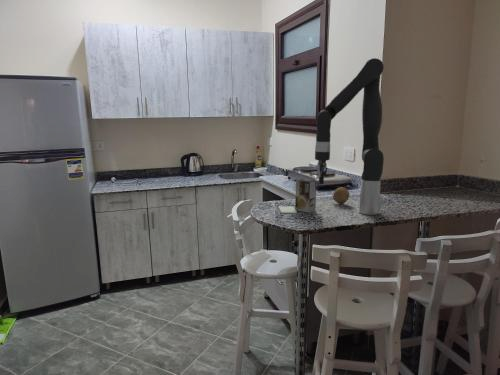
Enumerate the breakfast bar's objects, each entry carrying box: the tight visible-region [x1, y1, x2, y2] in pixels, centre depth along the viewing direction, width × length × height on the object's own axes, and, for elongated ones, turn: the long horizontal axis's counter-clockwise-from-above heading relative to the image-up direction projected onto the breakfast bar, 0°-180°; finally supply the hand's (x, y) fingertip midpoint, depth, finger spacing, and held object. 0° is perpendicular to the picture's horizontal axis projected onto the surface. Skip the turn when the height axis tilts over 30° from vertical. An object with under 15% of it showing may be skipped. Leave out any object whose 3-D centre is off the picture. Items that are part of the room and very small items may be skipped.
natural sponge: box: [332, 186, 350, 205], centre depth 199 cm, size 9×9×10 cm
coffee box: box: [294, 178, 317, 213], centre depth 186 cm, size 9×6×16 cm
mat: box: [278, 205, 298, 214], centre depth 187 cm, size 8×12×1 cm, turn 3°
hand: (321, 183), depth 185 cm, fingers closed
